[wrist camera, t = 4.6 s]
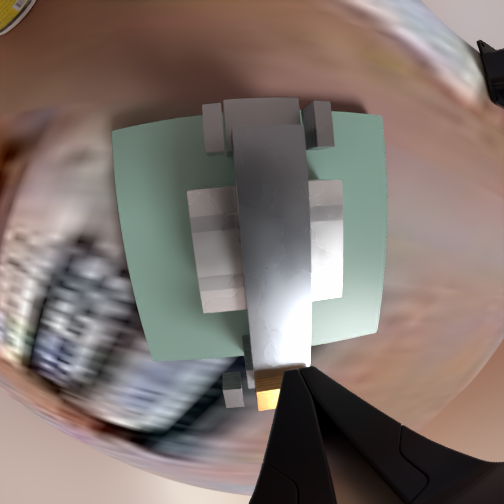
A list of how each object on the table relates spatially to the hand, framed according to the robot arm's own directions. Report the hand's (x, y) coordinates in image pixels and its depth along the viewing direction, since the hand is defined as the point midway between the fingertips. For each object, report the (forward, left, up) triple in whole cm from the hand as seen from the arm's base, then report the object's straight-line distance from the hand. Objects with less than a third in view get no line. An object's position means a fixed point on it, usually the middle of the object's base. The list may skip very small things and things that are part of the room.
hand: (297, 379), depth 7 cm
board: (0, -2, -8) cm, 9 cm away
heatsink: (0, -3, -7) cm, 8 cm away
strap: (0, -2, -4) cm, 4 cm away
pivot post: (0, -7, -8) cm, 11 cm away
